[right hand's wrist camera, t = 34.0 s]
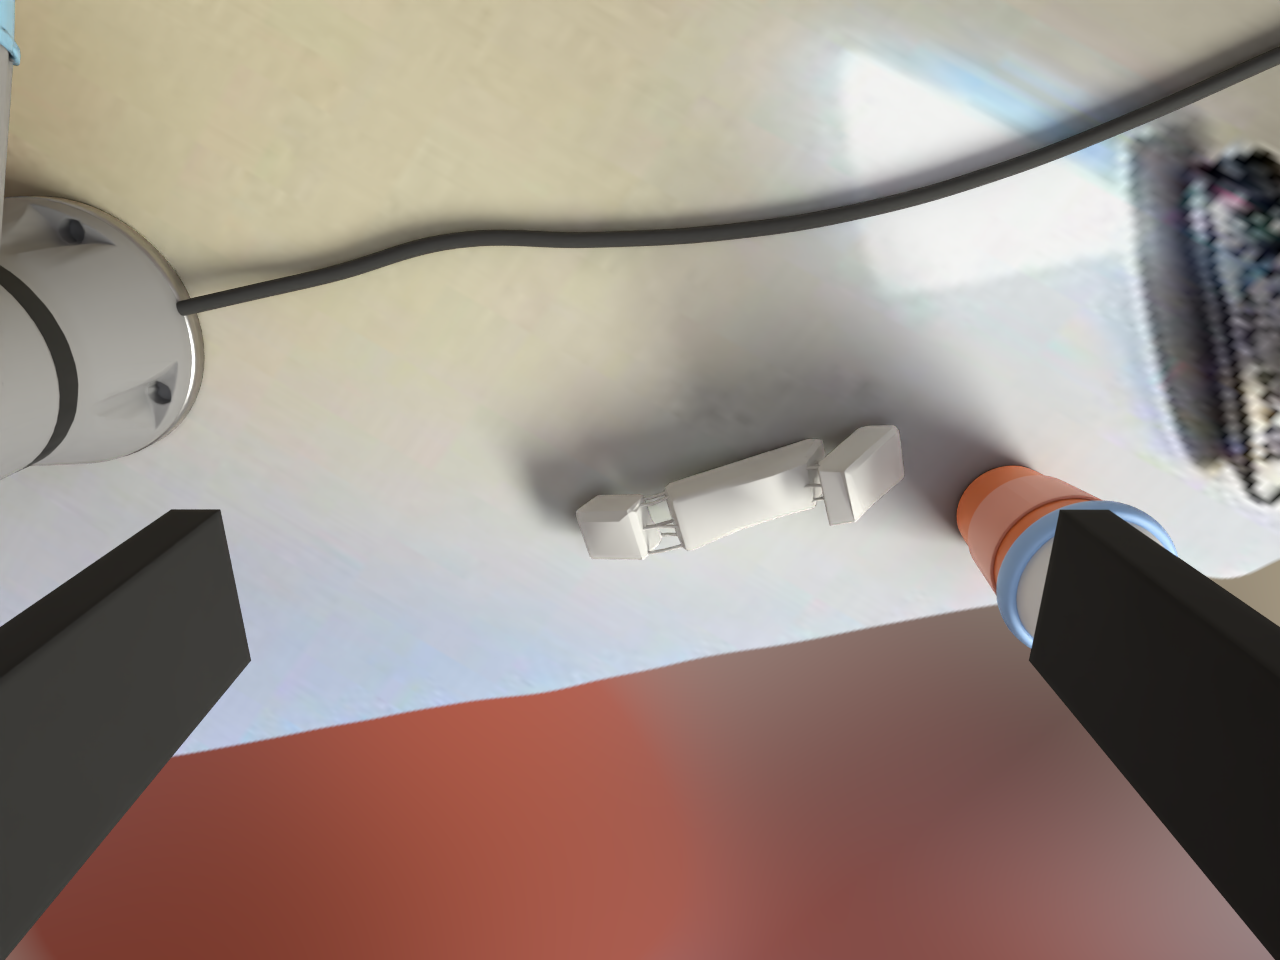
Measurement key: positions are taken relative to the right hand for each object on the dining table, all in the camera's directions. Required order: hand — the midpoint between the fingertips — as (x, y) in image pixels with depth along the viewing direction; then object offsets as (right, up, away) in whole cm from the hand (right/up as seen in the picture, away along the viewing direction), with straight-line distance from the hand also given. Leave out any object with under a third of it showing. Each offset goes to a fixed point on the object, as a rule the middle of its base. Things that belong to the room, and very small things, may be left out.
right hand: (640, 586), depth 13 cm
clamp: (+6, +2, +38) cm, 38 cm away
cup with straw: (+23, 0, +38) cm, 45 cm away
